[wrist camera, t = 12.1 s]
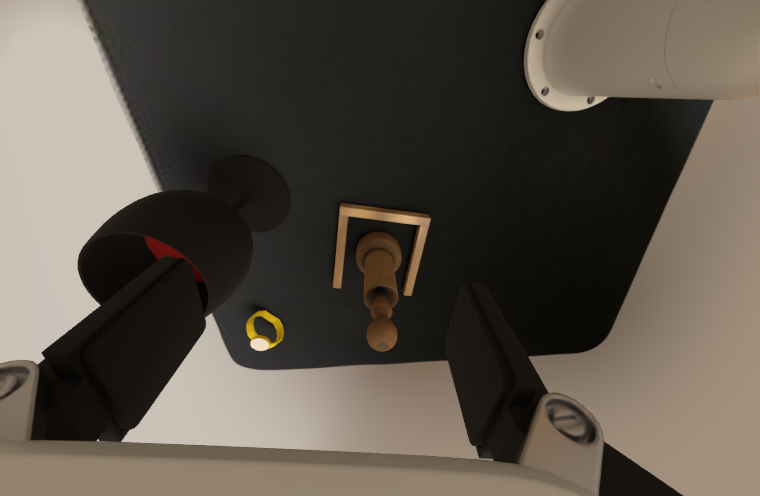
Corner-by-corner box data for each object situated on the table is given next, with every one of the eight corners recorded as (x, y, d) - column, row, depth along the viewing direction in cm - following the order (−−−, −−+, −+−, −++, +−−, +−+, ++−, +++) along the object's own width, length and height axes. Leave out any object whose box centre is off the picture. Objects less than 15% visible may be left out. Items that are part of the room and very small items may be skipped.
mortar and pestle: (409, 253, 43) (431, 348, 27) (376, 277, 45) (378, 378, 29) (380, 222, 40) (386, 307, 24) (346, 248, 42) (332, 343, 26)
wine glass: (195, 160, 36) (25, 228, 18) (278, 150, 35) (185, 210, 18) (226, 234, 41) (116, 344, 23) (298, 227, 40) (242, 332, 23)
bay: (429, 214, 40) (430, 218, 39) (410, 290, 46) (411, 296, 45) (341, 202, 39) (339, 206, 37) (334, 282, 45) (332, 287, 44)
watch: (251, 310, 47) (236, 338, 42) (261, 302, 47) (247, 328, 41) (279, 330, 50) (268, 358, 44) (290, 322, 49) (280, 350, 44)
